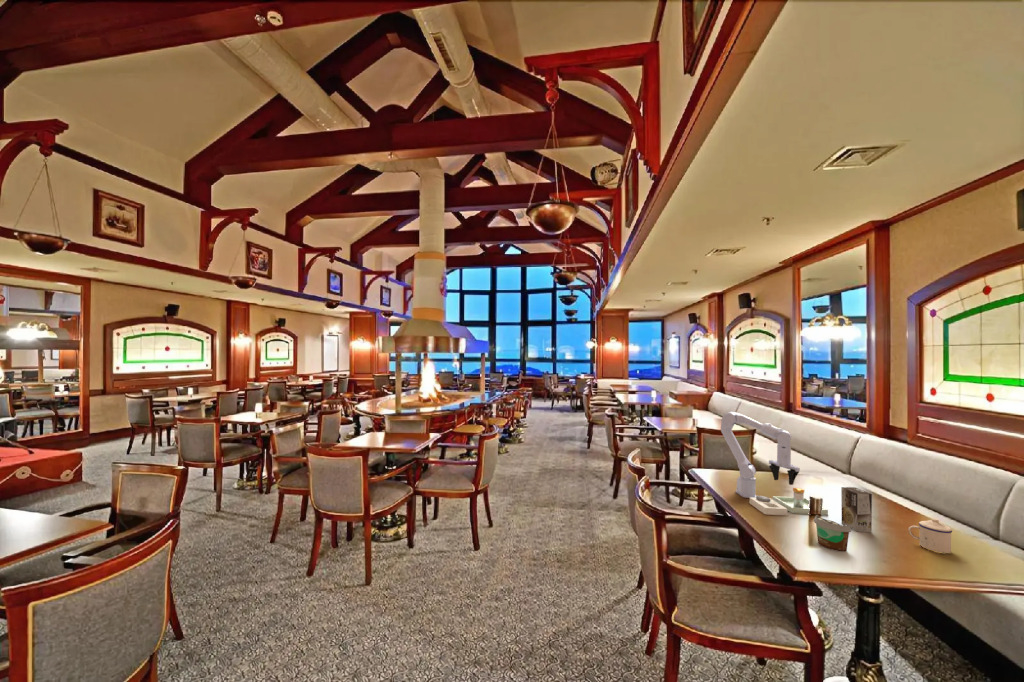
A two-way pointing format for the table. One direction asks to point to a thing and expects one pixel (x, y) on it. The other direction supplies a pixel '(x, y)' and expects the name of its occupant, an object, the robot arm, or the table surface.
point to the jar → (798, 497)
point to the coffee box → (856, 509)
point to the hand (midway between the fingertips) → (783, 482)
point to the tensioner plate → (768, 506)
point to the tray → (788, 504)
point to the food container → (832, 534)
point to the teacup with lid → (934, 535)
